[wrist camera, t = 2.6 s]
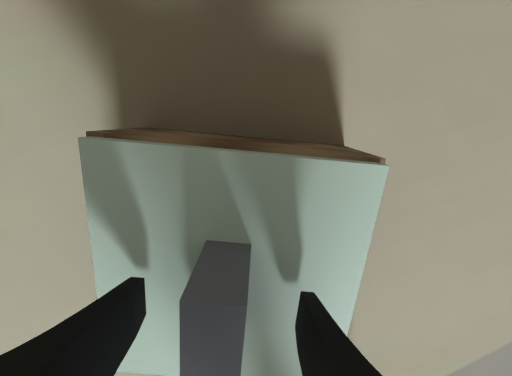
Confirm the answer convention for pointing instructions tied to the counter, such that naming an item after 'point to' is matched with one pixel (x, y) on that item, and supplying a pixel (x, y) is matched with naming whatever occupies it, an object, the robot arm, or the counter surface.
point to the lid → (226, 248)
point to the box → (237, 143)
